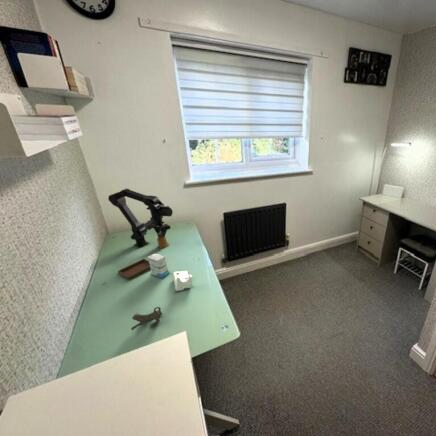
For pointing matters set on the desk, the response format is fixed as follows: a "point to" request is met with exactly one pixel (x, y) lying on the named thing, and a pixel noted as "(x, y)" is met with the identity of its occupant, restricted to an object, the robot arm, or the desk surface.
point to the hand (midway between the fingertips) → (161, 236)
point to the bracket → (182, 280)
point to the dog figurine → (147, 318)
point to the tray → (135, 269)
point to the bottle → (162, 242)
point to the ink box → (158, 265)
